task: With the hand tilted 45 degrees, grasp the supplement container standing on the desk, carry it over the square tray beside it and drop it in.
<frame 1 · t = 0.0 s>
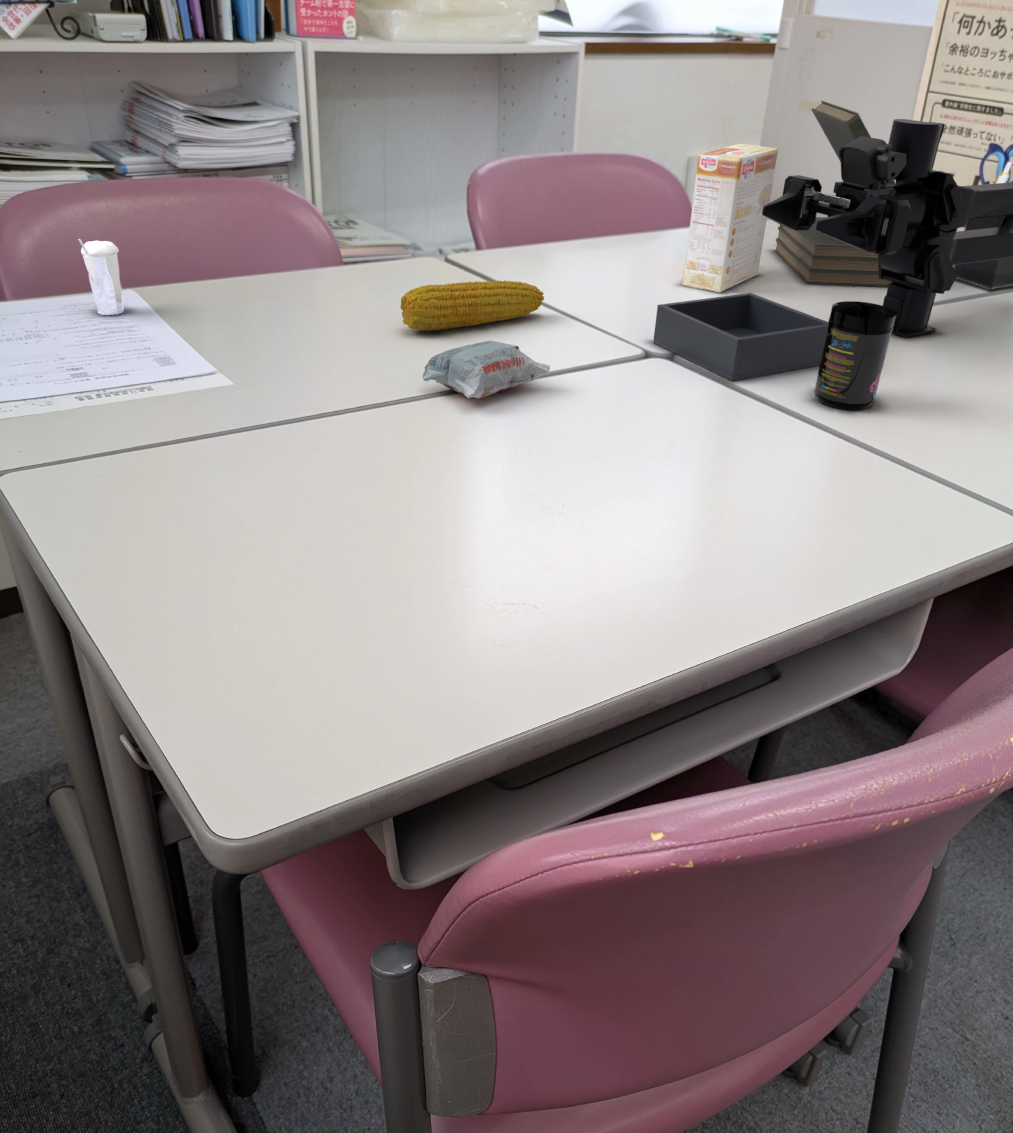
hand: (789, 217, 113), 17 cm above the table, tool horizontal, fingers open, 9 cm apart
milkshake: (109, 314, 126), on the table
stack of books: (845, 269, 162), on the table
supplement container: (842, 402, 108), on the table
coffeecake box: (720, 281, 153), on the table
packaged food: (486, 392, 106), on the table
food: (472, 325, 128), on the table
square tray: (738, 353, 121), on the table
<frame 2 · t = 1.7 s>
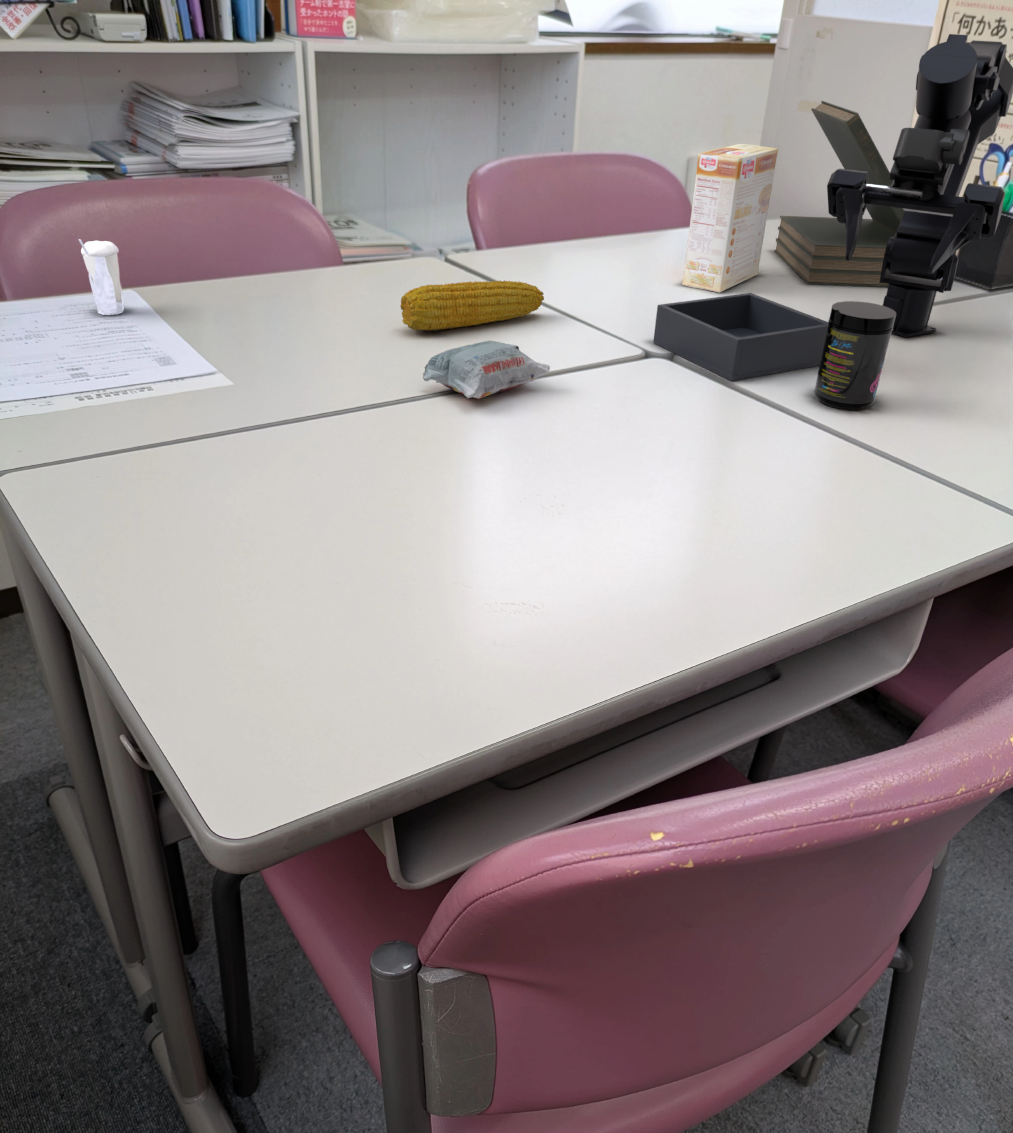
hand: (888, 264, 107), 14 cm above the table, tool tilted 45°, fingers open, 9 cm apart
nothing on the table moved.
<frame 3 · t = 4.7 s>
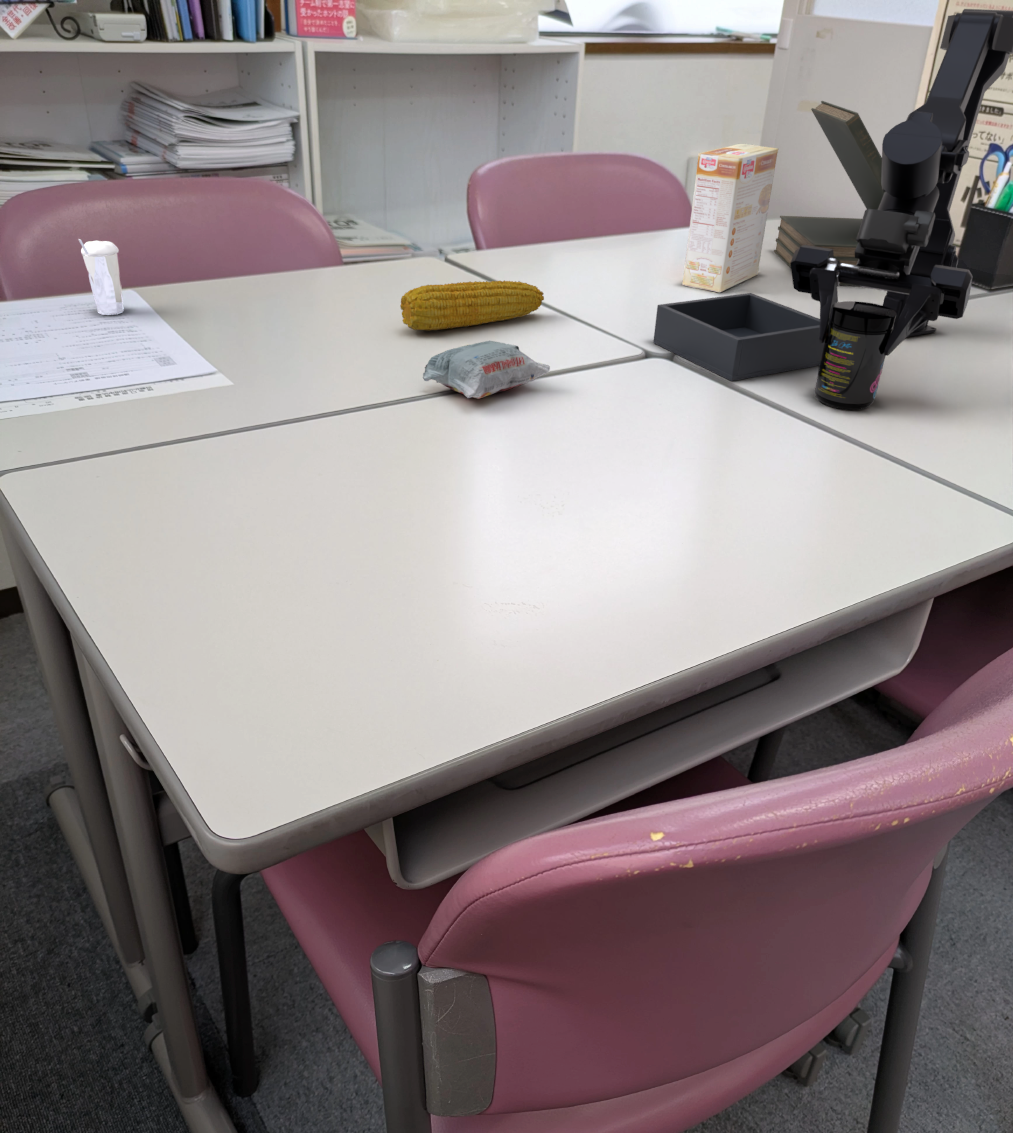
hand: (852, 347, 103), 7 cm above the table, tool tilted 45°, fingers closed on supplement container, 7 cm apart
supplement container: (842, 402, 108), on the table, touching gripper
everything else where it was.
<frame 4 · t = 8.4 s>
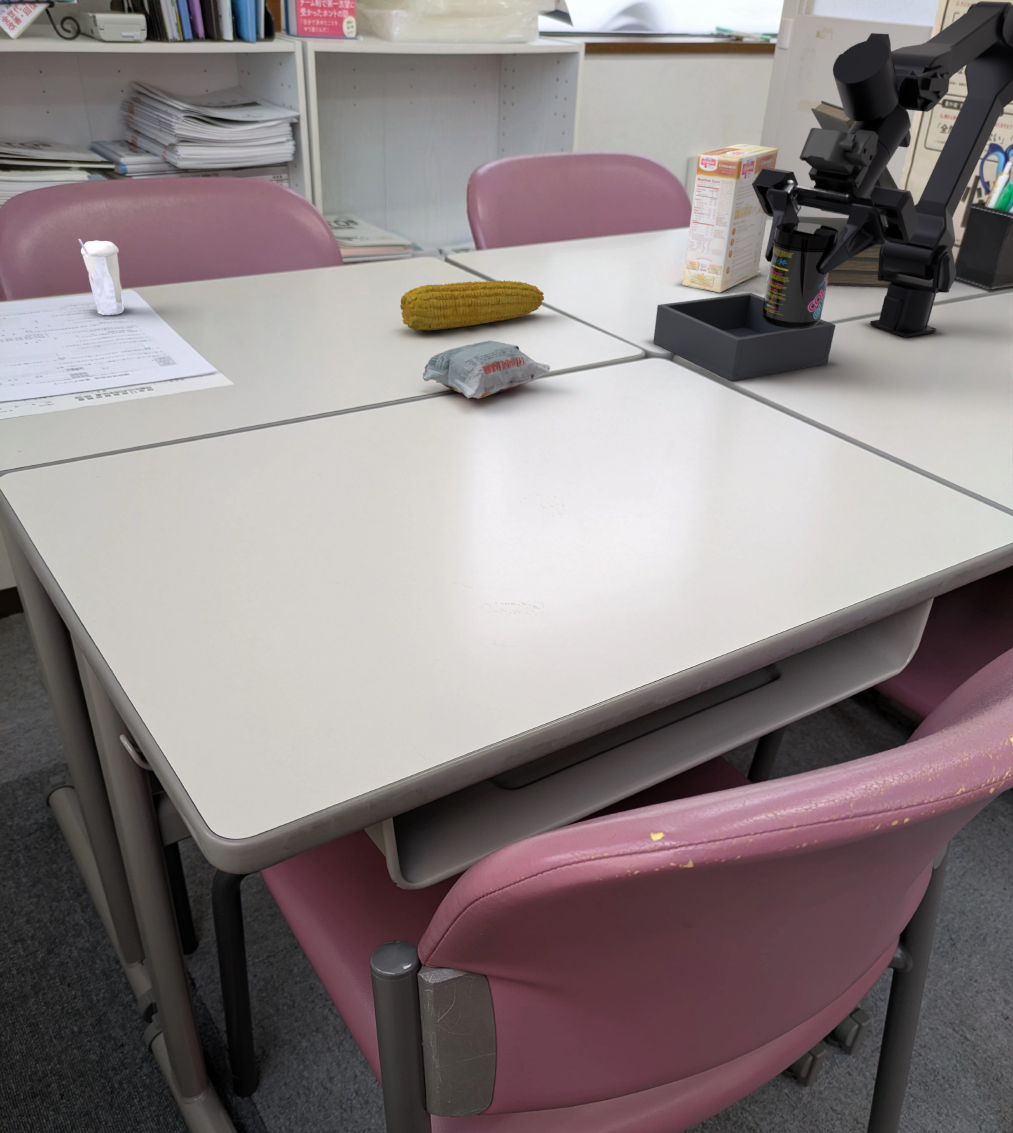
hand: (793, 265, 106), 13 cm above the table, tool tilted 45°, fingers closed on supplement container, 7 cm apart
supplement container: (789, 322, 111), point 7 cm above the table, touching gripper
everything else where it was.
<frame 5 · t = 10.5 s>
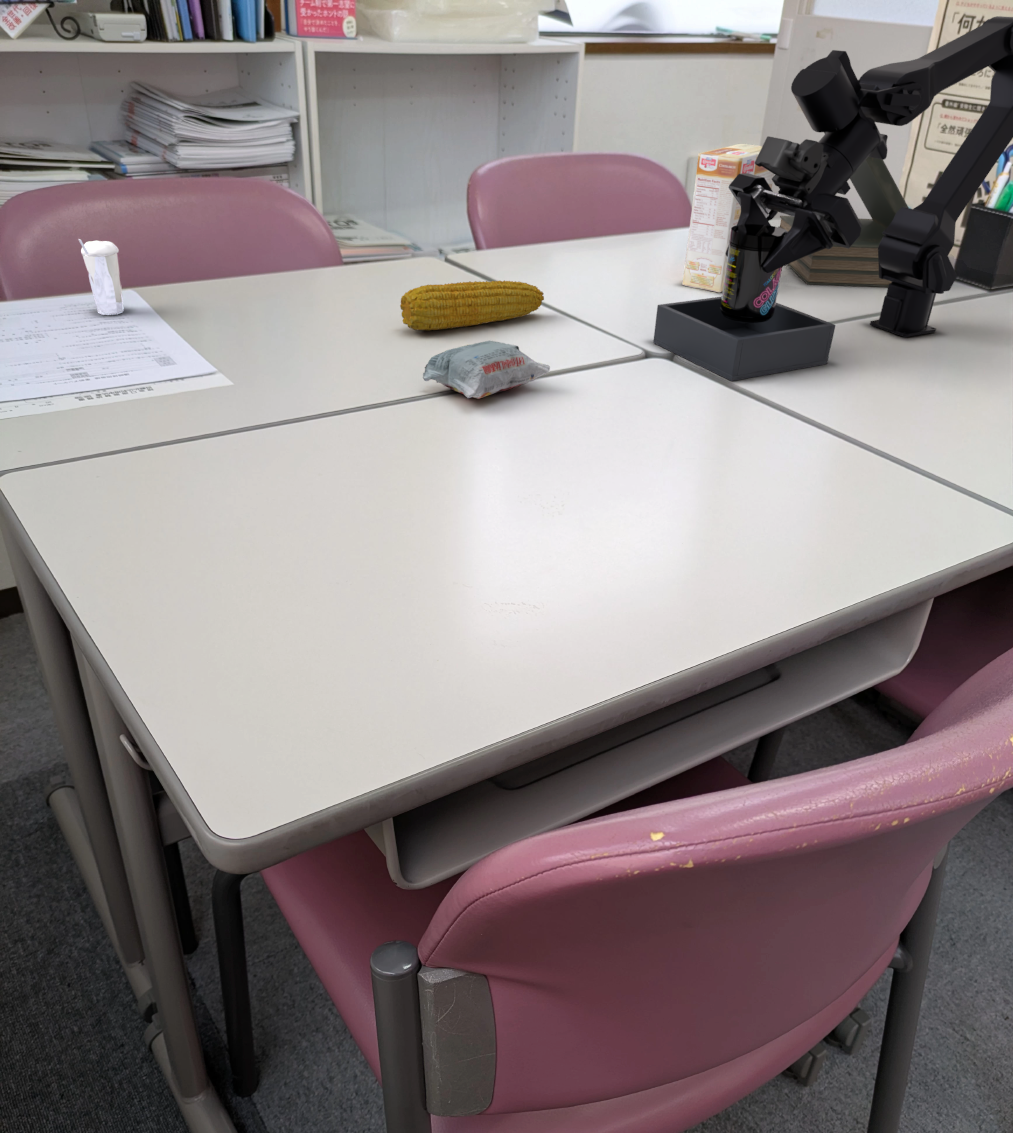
hand: (745, 263, 115), 11 cm above the table, tool tilted 45°, fingers closed on supplement container, 7 cm apart
supplement container: (746, 317, 119), point 5 cm above the table, touching gripper
everything else where it was.
when the fingers open (7 cm above the table, at t = 12.3 s): supplement container stays where it is, resting on square tray.
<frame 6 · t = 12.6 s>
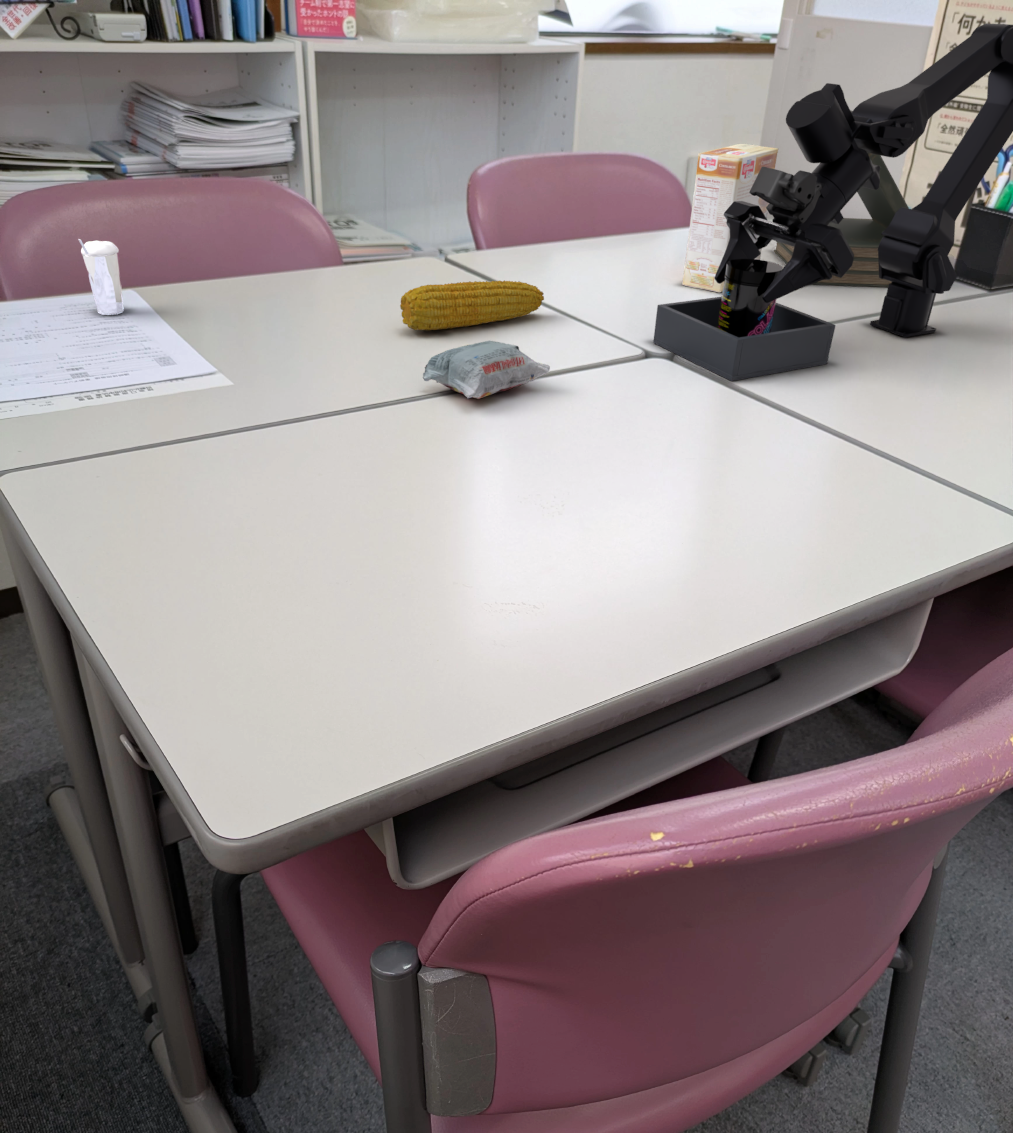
hand: (739, 290, 116), 8 cm above the table, tool tilted 45°, fingers open, 9 cm apart
supplement container: (740, 349, 121), resting on square tray
everything else where it was.
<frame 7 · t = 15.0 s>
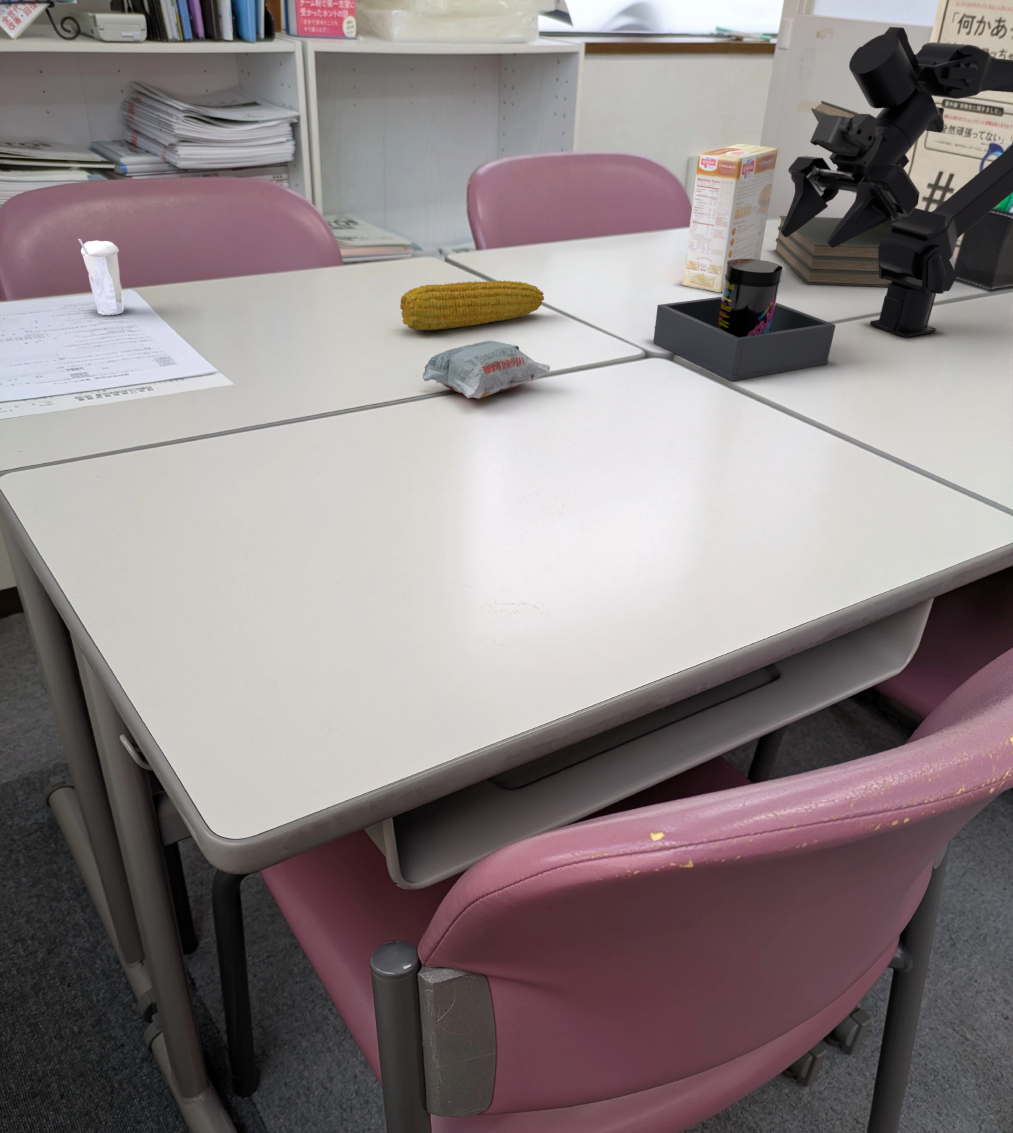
hand: (805, 239, 117), 13 cm above the table, tool tilted 40°, fingers open, 9 cm apart
nothing on the table moved.
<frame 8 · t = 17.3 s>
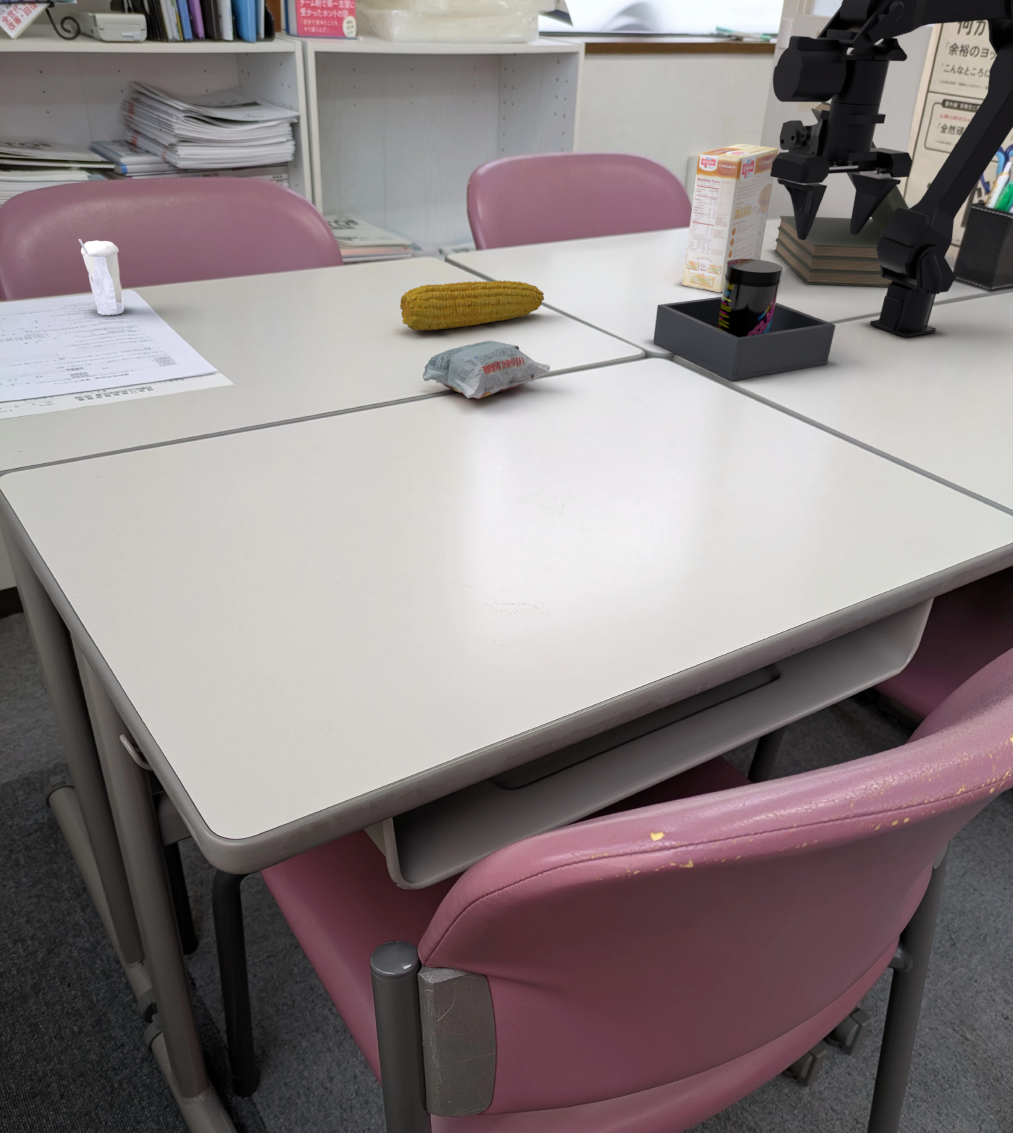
hand: (828, 236, 122), 13 cm above the table, tool pointing down, fingers open, 9 cm apart
nothing on the table moved.
at the end: supplement container inside the target area in the square tray (0.2 cm from its centre), point 0.4 cm above the square tray's base; the gripper is holding nothing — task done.
